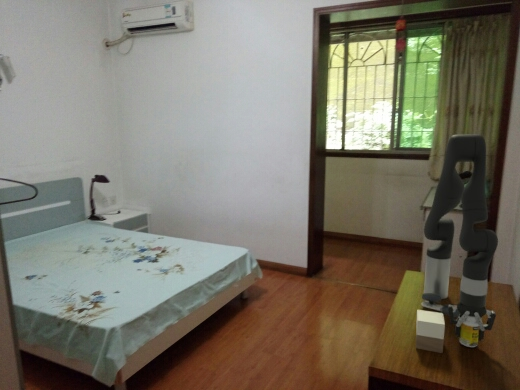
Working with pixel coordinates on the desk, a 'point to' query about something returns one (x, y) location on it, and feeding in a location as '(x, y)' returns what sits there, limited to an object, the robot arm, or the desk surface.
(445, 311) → the can opener
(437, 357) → the desk surface
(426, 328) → the tower top
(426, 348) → the tower base
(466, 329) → the supplement bottle
